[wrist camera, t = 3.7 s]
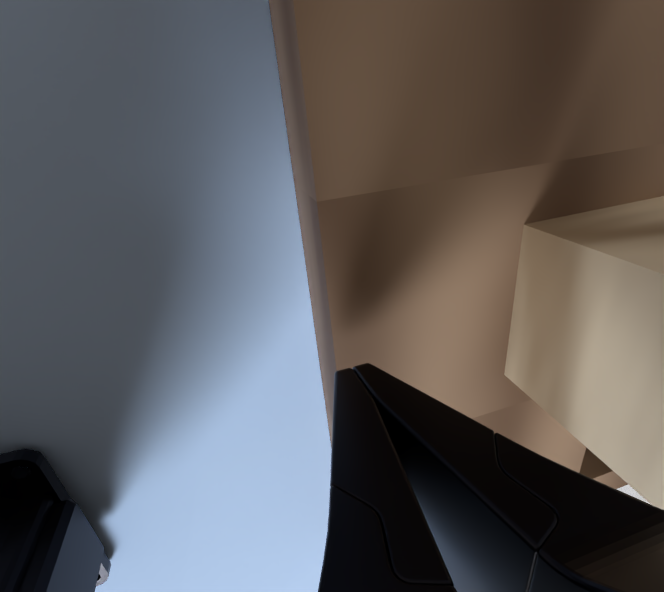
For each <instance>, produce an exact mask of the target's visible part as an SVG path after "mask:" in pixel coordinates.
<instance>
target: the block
mask: <svg viewBox="0 0 664 592" xmlns="http://www.w3.org/2000/svg"><path fill="white" fill-rule="evenodd" d="M504 375H505V376H506V377H507V378H509V379H510V380H511V381H512V382H513V383H514V384H515V385H517V386H518V387H519V388H520V389H521V390H522V391H523V392H524V393H526V394H527V395H528V396H529V397H530V398H531V399H532V400H534V401H535V402H536V403H537V404H538V405H539V406H540V407H541V408H543V409H544V410H545V411H546V412H547V413H548V414H549V415H550V416H552V417H553V418H554V419H555V420H556V421H557V422H558V423H560V424H561V425H562V426H563V427H564V428H565V429H566V430H567V431H569V432H570V433H571V434H572V435H573V436H574V437H575V438H577V439H578V440H579V441H580V442H581V443H582V444H583V445H584V446H586V447H587V448H588V449H589V450H590V451H591V452H592V453H594V454H595V455H596V456H597V457H598V458H599V459H600V460H601V461H603V462H604V463H605V464H606V465H607V466H608V467H609V468H610V469H612V470H613V471H614V472H615V473H616V474H617V475H618V476H620V477H621V478H622V479H623V480H624V481H625V482H626V483H627V484H629V485H630V486H631V487H632V488H633V489H634V490H635V491H637V492H638V493H639V494H640V495H641V496H642V497H643V498H644V499H646V500H647V501H648V502H649V503H650V504H651V505H653V506H655V507H658V508H660V509H663V510H664V196H661V197H656V198H651V199H646V200H642V201H637V202H632V203H627V204H622V205H617V206H612V207H607V208H602V209H598V210H593V211H588V212H583V213H578V214H573V215H568V216H563V217H558V218H553V219H549V220H544V221H539V222H534V223H529V224H524V226H523V234H522V241H521V249H520V257H519V265H518V272H517V280H516V288H515V296H514V303H513V311H512V319H511V326H510V334H509V342H508V350H507V357H506V365H505V373H504Z"/></svg>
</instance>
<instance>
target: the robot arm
mask: <svg viewBox="0 0 664 592" xmlns="http://www.w3.org/2000/svg"><path fill="white" fill-rule="evenodd" d="M19 466H25V467H28V468H22V467H19ZM330 486H331V488H330V505H329V519H328V532H327V539H326V546H325V553H324V560H323V566H322V572H321V577H320V583H319V588H318V592H664V510H663V509H660V508H658V507H655V506H653V505H650V504H648V503H646V502H643V501H641V500H639V499H637V498H634V497H632V496H630V495H628V494H625V493H623V492H621V491H619V490H616V489H614V488H612V487H610V486H607V485H605V484H603V483H601V482H598V481H596V480H594V479H592V478H589V477H587V476H585V475H583V474H580V473H578V472H576V471H574V470H571V469H569V468H567V467H565V466H563V465H561V464H559V463H556V462H554V461H552V460H550V459H548V458H546V457H544V456H541V455H539V454H538V453H536V452H534V451H532V450H530V449H528V448H526V447H524V446H522V445H520V444H518V443H516V442H514V441H512V440H511V439H509V438H507V437H505V436H503V435H501V434H499V433H495V434H494V431H493V430H492V429H490V428H488V427H486V426H484V425H483V424H481V423H479V422H477V421H475V420H473V419H472V418H470V417H468V416H466V415H464V414H462V413H461V412H459V411H457V410H455V409H453V408H451V407H450V406H448V405H446V404H444V403H442V402H440V401H438V400H437V399H435V398H433V397H431V396H429V395H427V394H426V393H424V392H422V391H420V390H418V389H416V388H415V387H413V386H411V385H409V384H407V383H405V382H403V381H402V380H400V379H398V378H396V377H394V376H392V375H391V374H389V373H387V372H385V371H383V370H381V369H380V368H378V367H376V366H374V365H372V364H370V363H365V364H361V365H357V366H354V367H353V368H346V369H342V370H338V371H336V372H335V374H334V399H333V427H332V455H331V483H330ZM110 567H111V563H110V561H109V559H108V557H107V556H106V554H105V553H104V546H103V544H102V543H101V541H100V540H99V538H98V536H97V535H96V533H95V532H94V530H93V528H92V527H91V525H90V523H89V522H88V520H87V519H86V517H85V515H84V514H83V512H82V511H81V509H80V507H79V506H78V504H77V503H75V502H74V501H73V500H71V498H70V497H69V495H68V493H67V492H66V490H65V489H64V487H63V485H62V484H61V482H60V481H59V479H58V477H57V476H56V474H55V473H54V471H53V469H52V468H51V466H50V465H49V463H48V461H47V460H46V458H45V457H44V456H43V455H42V454H41V453H40V452H38V451H35V450H31V449H21V450H16V451H12V452H8V453H5V454H1V455H0V592H95V587H96V586H98V585H100V584H103V583H104V582H105V581H106V580H107V579H108V576H109V572H110Z"/></svg>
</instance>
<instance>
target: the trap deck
mask: <svg viewBox="0 0 664 592" xmlns="http://www.w3.org/2000/svg"><path fill="white" fill-rule="evenodd" d="M269 7H270V14H271V21H272V28H273V35H274V42H275V49H276V56H277V63H278V71H279V78H280V85H281V92H282V99H283V106H284V113H285V120H286V127H287V135H288V142H289V149H290V156H291V163H292V170H293V177H294V184H295V191H296V199H297V206H298V213H299V220H300V227H301V234H302V241H303V248H304V255H305V263H306V270H307V277H308V284H309V291H310V298H311V305H312V312H313V319H314V327H315V334H316V341H317V348H318V355H319V362H320V369H321V376H322V383H323V391H324V398H325V405H326V412H327V419H328V426H329V433H330V440H331V447H332V427H333V399H334V374H335V372H336V371H338V370H342V369H346V368H353V367H354V366H357V365H361V364H365V363H370V364H372V365H374V366H376V367H378V368H380V369H381V370H383V371H385V372H387V373H389V374H391V375H392V376H394V377H396V378H398V379H400V380H402V381H403V382H405V383H407V384H409V385H411V386H413V387H415V388H416V389H418V390H420V391H422V392H424V393H426V394H427V395H429V396H431V397H433V398H435V399H437V400H438V401H440V402H442V403H444V404H446V405H448V406H450V407H451V408H453V409H455V410H457V411H459V412H461V413H462V414H464V415H466V416H468V417H470V418H472V419H473V420H475V421H477V422H479V423H481V424H483V425H484V426H486V427H488V428H490V429H492V430H493V431H494V434H495V433H499V434H501V435H503V436H505V437H507V438H509V439H511V440H512V441H514V442H516V443H518V444H520V445H522V446H524V447H526V448H528V449H530V450H532V451H534V452H536V453H538V454H539V455H541V456H544V457H546V458H548V459H550V460H552V461H554V462H556V463H559V464H561V465H563V466H565V467H567V468H569V469H571V470H574V471H576V472H578V473H580V474H583V475H585V476H587V477H589V478H592V479H594V480H596V481H598V482H601V483H603V484H605V485H607V486H610V487H612V488H614V489H617V488H620V487H622V486H625V485H627V483H626V482H625V481H624V480H623V479H622V478H621V477H620V476H618V475H617V474H616V473H615V472H614V471H613V470H612V469H610V468H609V467H608V466H607V465H606V464H605V463H604V462H603V461H601V460H600V459H599V458H598V457H597V456H596V455H595V454H594V453H592V452H591V451H590V450H589V449H588V448H587V447H586V446H584V445H583V444H582V443H581V442H580V441H579V440H578V439H577V438H575V437H574V436H573V435H572V434H571V433H570V432H569V431H567V430H566V429H565V428H564V427H563V426H562V425H561V424H560V423H558V422H557V421H556V420H555V419H554V418H553V417H552V416H550V415H549V414H548V413H547V412H546V411H545V410H544V409H543V408H541V407H540V406H539V405H538V404H537V403H536V402H535V401H534V400H532V399H531V398H530V397H529V396H528V395H527V394H526V393H524V392H523V391H522V390H521V389H520V388H519V387H518V386H517V385H515V384H514V383H513V382H512V381H511V380H510V379H509V378H507V377H506V376H505V375H504V373H505V365H506V357H507V350H508V342H509V334H510V326H511V319H512V311H513V303H514V296H515V288H516V280H517V272H518V265H519V257H520V249H521V241H522V234H523V226H524V224H529V223H534V222H539V221H544V220H549V219H553V218H558V217H563V216H568V215H573V214H578V213H583V212H588V211H593V210H598V209H602V208H607V207H612V206H617V205H622V204H627V203H632V202H637V201H642V200H646V199H651V198H656V197H661V196H664V0H269Z"/></svg>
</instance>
